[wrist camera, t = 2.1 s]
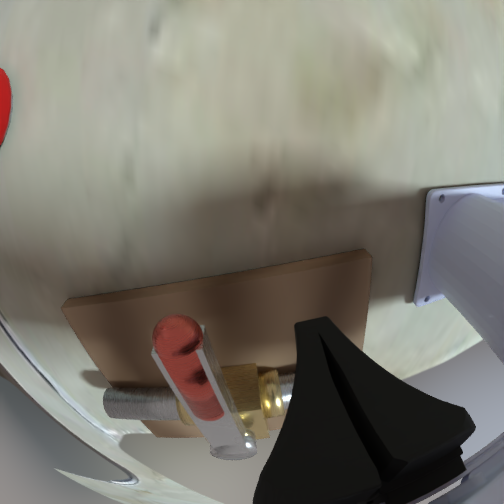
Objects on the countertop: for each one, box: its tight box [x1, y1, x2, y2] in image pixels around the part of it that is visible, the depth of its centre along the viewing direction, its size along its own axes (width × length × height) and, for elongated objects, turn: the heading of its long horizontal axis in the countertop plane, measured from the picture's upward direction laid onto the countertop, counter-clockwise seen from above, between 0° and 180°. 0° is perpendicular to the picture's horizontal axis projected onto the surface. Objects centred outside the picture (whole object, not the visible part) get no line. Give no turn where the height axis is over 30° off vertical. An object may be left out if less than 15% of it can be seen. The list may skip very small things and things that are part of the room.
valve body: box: [103, 363, 295, 440], centre depth 15 cm, size 18×4×4 cm, turn 99°
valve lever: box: [151, 314, 257, 460], centre depth 11 cm, size 11×3×2 cm, turn 9°
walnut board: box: [61, 249, 372, 438], centre depth 17 cm, size 18×16×1 cm
